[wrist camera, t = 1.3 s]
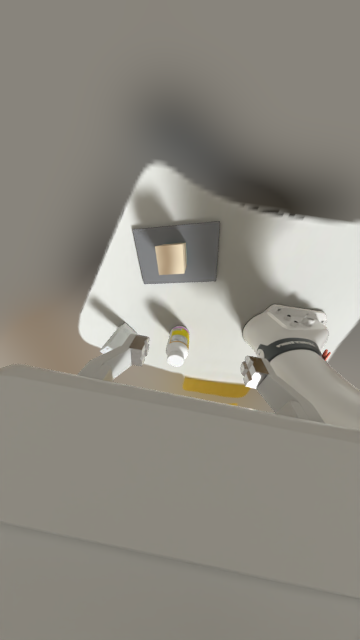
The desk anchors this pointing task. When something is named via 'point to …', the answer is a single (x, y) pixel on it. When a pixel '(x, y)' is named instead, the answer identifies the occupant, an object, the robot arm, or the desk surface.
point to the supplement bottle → (177, 346)
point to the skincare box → (117, 338)
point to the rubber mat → (198, 246)
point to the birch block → (171, 258)
